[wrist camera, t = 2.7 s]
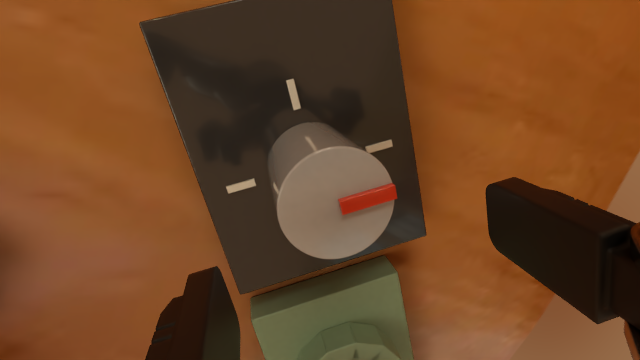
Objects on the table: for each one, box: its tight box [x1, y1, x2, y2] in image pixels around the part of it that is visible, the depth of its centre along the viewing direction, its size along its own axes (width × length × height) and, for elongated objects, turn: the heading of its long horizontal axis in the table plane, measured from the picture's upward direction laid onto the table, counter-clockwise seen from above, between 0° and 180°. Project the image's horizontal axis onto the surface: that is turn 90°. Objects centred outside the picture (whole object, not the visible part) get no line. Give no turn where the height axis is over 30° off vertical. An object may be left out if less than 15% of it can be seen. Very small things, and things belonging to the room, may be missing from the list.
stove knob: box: [267, 122, 397, 259], centre depth 16 cm, size 4×4×6 cm
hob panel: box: [139, 0, 426, 294], centre depth 19 cm, size 14×11×3 cm
